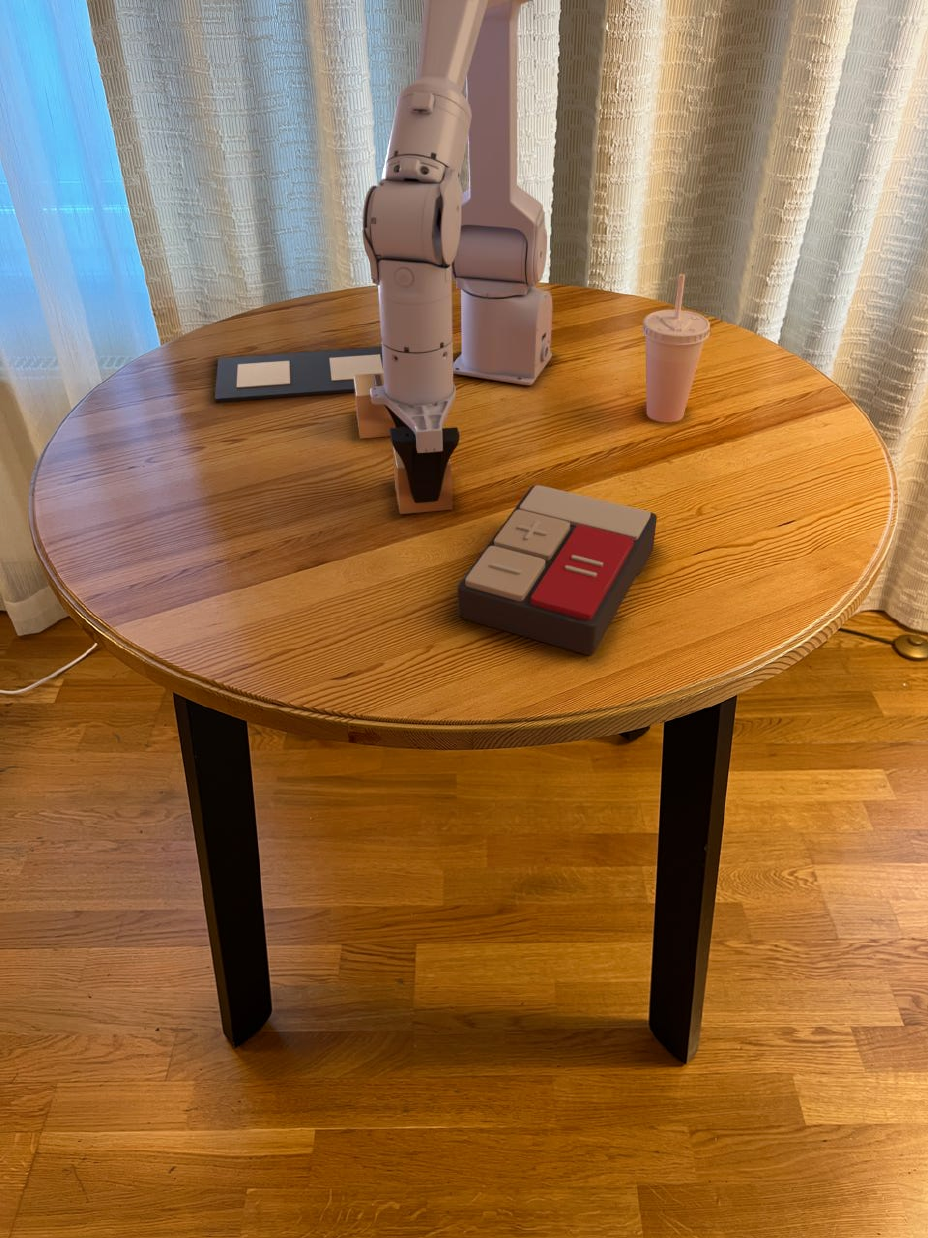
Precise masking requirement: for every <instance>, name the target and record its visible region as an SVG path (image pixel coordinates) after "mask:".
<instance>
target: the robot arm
mask: <svg viewBox="0 0 928 1238" xmlns="http://www.w3.org/2000/svg"><path fill="white" fill-rule="evenodd" d="M532 1H533V0H424V4H423V13H422V22H421V33H420V41H419V49H418V50H419V51H418V61H417V68H416V69H417V71H416V78H415V79H416V80H415V81H414V82H412V83H410V84H408V85H407V86H406V87H404V88H403V89H402V90H401V91H400V92H399V94H398V96H397V101H396V106H395V111H394V115H393V121H392V126H391V130H390V135H389V141H388V146H387V151H386V156H385V161H384V166H383V170H382V176H381V180H379V182H378V184H379V185H371V186H370V187H369V188H368V190H367V192H366V195H365V198H364V203H363V209H362V222H361V223H362V228H361V229H362V230H361V236H362V243H363V244H362V245H363V247H364V248H363V249H364V251H365V254H366V257H367V258H368V261H369V267H370V268H369V269H370V279H371V280H372V281H371V282H372V284H375V285H376V286H377V290H378V292H377V294H378V305H379V306H378V309H379V325H380V340H381V342H380V343H381V347H382V358H383V374H384V385H383V386H378V387H373V388H371V389H370V394H371V401H372V403H373V404H375V405H385V407H386V408H387V410H388V412H389V413H390V415H391V417H392V419H393V421H394V423H395V426H396V428H390V429H389V432H390V436H389V437H390V442H391V445H392V448H393V447H394V449H395V450H396V452H397V453H398V455H399V456H400V458H401V460H402V462H403V464H404V466H405V469H406V472H407V477H408V481H409V486H410V490H411V494H412V497H413V499H414V502H415V503H423V502H435V501H438V499H439V496H440V492H441V488H442V483H443V478H444V474H445V470H446V466H447V463H448V461H449V459H450V460H451V456H452V454H453V453H454V451H455V450H456V448H457V447H458V445H459V443H460V437H461V436H460V432H459V428H458V427H457V426H456V427H444V424H445V423H446V420H447V418H448V416H449V414H450V411H451V409H452V407H453V405H454V403H455V401H456V398H457V389H456V385H455V383H454V375H460V376H467V377H472V378H477V379H483V380H490V381H498V382H503V383H504V382H505V383H510V384H516V385H521V386H531V385H533V384H534V383H535V382H536V380H537V379H538V377H539V375H540V374H541V373H542V372H543V370H544V369H545V367H546V366H547V364H548V363H549V361H550V360H551V359H552V358H553V353H552V352H551V349H552V347H551V346H552V330H553V329H552V327H553V325H552V324H553V296H552V293H551V292H550V291H548V290H545V289H544V290H543V289H541V288H537V287H536V286H537V285H538V284H539V283H540V282H541V281H542V280H543V277H544V273H545V268H546V263H547V255H548V254H547V253H548V232H547V231H548V230H547V228H546V211H545V210H544V205H543V204H542V203H541V202H540V201H539V200H538V199H536V198H535V197H533V196H532V195H531V194H529V193H528V192H527V191H525V190H524V189H522V188H521V186H519V185H518V25H519V17H520V13H521V8H522V5H523V4H526V3H529V2H532ZM465 84H466V85H465ZM464 86H465V87H466V88H465V89H466V97H465V95H464V94H463V93H462V92H463V90H464ZM466 148H467V150H468V151H467V152H468V153H467V156H468V179H469V180H468V186H469V187H468V189H467V190H465V191H463V188H462V184H461V175H462V169H463V165H464V164H463V163H464V160H465V153H466ZM453 281H456V282H455V283H456V284H455V286H456V290H460V309H461V310H460V312H461V316H460V317H461V327H460V328H461V331H460V332H461V334H460V335H461V354H460V355H459V356H458V357H457V358H456V359H455V361H454V349H453V347H454V345H453V343H454V342H453V288H452V287H453ZM443 427H444V428H443Z"/></svg>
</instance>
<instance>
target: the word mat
mask: <svg viewBox="0 0 928 1238" xmlns="http://www.w3.org/2000/svg"><path fill="white" fill-rule="evenodd" d="M217 359H218V360H217V370H216V380H215V391H214V394H215V395H214V401H215V402H214V403H225V402H239V401H252V400H265V399H279V398H293V397H306V396H308V397H309V396H320V395H321V396H322V395H333V394H335V395H336V394H347V393H348V394H349V393H355V388H354V375H360V374H374V373H383V358H382V346H376V347H375V346H374V347H362V348H359V347H358V348H346V349H333V350H332V349H330V350H318V351H317V350H315V351H304V352H303V351H301V352H289V353H275V354H274V353H273V354H262V355H261V354H259V355H258V354H257V355H245V356H232V357H231V356H230V357H218V358H217Z"/></svg>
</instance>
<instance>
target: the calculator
mask: <svg viewBox="0 0 928 1238" xmlns="http://www.w3.org/2000/svg"><path fill="white" fill-rule="evenodd" d="M657 521H658V516H657V514H656V513H654V512H651V511H648V510H644V509H641V508H637V507H633V506H628V505H624V504H619V503H615V502H612V501H608V500H603V499H598V498H593V497H590V496H586V495H582V494H577V493H575V492H574V493H573V492H571V491H567V490H566V491H565V490H561V489H557V488H553V487H549V486H545V485H539V484H535V485H532V486H530V487H529V489H528V490H527V492H526V493H525V494H524V496H523V497H522V498H521V500H520V501H519V502H518V504H516V506H515V508H514V509H513V510H512V512H511V513H510V514H509V515H508V517H507V519H506V520H505V521H504V523H503V524H502V525H501V527H499V529H498V531H497V532H496V533H495V535H494V536H493V537H492V539H491V540H490V541H489V542H488V544H487V545H486V547H485V548H484V550H483V551H482V552H481V553H480V555H479V556H478V557H477V559H476V560H475V561H474V563H473V565H472V566H471V567H470V568H469V570H468V571H467V572H466V574H465V575H464V577H463V578H462V579H461V580H460V582H459V584H458V585H457V588H456V589H457V607H458V608H457V611H458V617H459V618H461V619H464V620H466V621H470V622H473V623H477V624H480V625H483V626H487V627H491V628H494V629H497V630H501V631H504V632H507V633H511V634H515V635H518V636H521V637H524V638H527V639H531V640H535V641H538V642H542V643H545V644H547V645H552V646H555V647H558V648H561V649H564V650H568V651H572V652H576V653H579V654H581V655H582V654H583V655H585V656H591V655H594V654H595V652H596V651H597V649H598V647H599V645H600V643H601V642H602V640H603V638H604V636H605V634H606V633H607V630H608V628H609V626H610V625H611V623H612V621H613V620H614V617H615V616H616V615H617V612H618V610H619V608H620V606H621V605H622V603H623V601H624V600H625V597H626V596H627V595H628V593H629V591H630V588H631V586H632V585H633V583H634V582H635V579H636V578H637V576H638V575H639V574H641V573H642V571H643V569H644V567H645V565H646V564H647V562H648V560H649V558H650V557H651V555H652V553H653V550H654V545H655V536H656V529H657Z"/></svg>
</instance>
